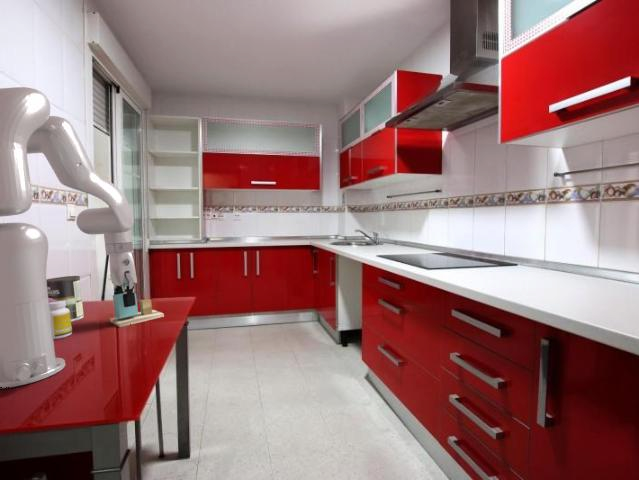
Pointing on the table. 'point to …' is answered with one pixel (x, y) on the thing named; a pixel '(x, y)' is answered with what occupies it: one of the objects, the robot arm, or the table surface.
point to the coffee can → (67, 294)
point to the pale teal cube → (120, 309)
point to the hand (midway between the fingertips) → (125, 304)
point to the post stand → (139, 315)
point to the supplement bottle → (60, 319)
